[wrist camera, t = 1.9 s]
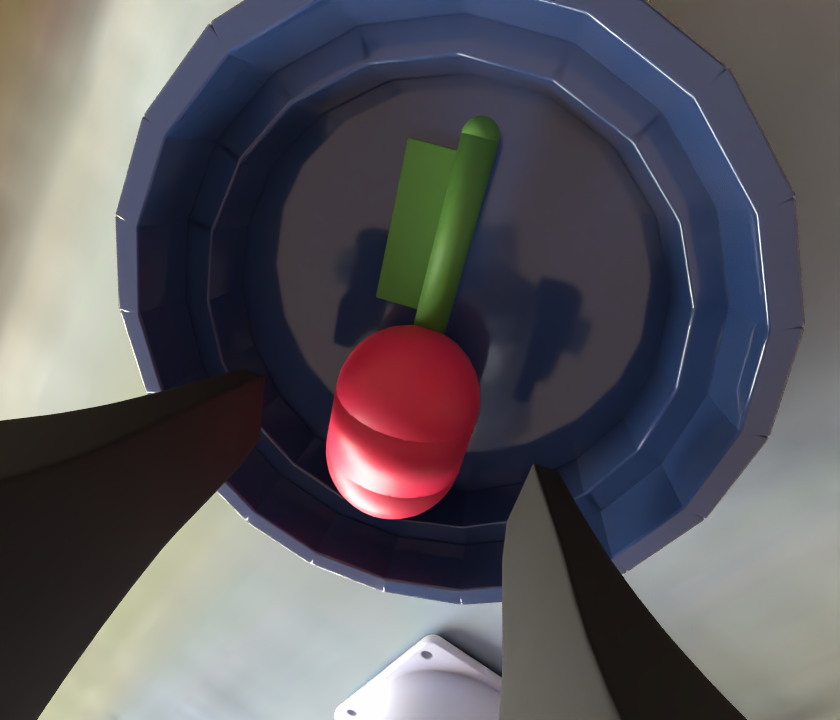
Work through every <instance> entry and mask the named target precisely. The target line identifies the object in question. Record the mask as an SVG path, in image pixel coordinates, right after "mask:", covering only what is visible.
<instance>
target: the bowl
mask: <svg viewBox="0 0 840 720" xmlns="http://www.w3.org/2000/svg"><path fill="white" fill-rule="evenodd" d="M211 23H212V24H209V25H208V26H207V27H206V28H205V30H204V31H203V33H202V34H201V35H200V37H199V38H198V40H197V41H196V42H195V44H194V45H193V47H192V48H191V49H190V51H189V52H188V54H187V55H186V56H185V58H184V59H183V61H182V62H181V63H180V65H179V66H178V68H177V69H176V71H175V72H174V73H173V75H172V76H171V78H170V79H169V80H168V82H167V83H166V85H165V86H164V87H163V89H162V90H161V92H160V93H159V94H158V96H157V97H156V99H155V100H154V101H153V103H152V104H151V106H150V107H149V108H148V110H147V111H146V113H145V116H144V117H143V118H142V121H141V125H140V128H139V132H138V135H137V139H136V143H135V146H134V150H133V154H132V157H131V161H130V164H129V168H128V172H127V175H126V179H125V183H124V186H123V190H122V193H121V197H120V201H119V204H118V208H117V212H116V215H117V216H116V242H117V268H118V295H119V309H120V310H121V311H120V313H121V316H122V319H123V322H124V325H125V328H126V332H127V335H128V338H129V341H130V344H131V347H132V350H133V354H134V357H135V360H136V363H137V366H138V369H139V372H140V376H141V379H142V382H143V385H144V388H145V391H146V392H147V395H149V394H153V393H157V392H161V391H165V390H169V389H172V388H176V387H179V386H183V385H186V384H190V383H193V382H197V381H200V380H204V379H207V378H211V377H214V376H218V375H221V374H225V373H229V372H232V371H237V370H242V369H246V370H249V371H252V372H255V373H258V374H261V375H264V376H265V386H264V397H263V409H262V420H261V431H260V439H259V440H258V442H257V443H256V444H255V446H254V447H253V449H252V450H251V452H250V453H249V454H248V456H247V457H246V458H245V460H244V461H243V462H242V464H241V465H240V466H239V468H238V469H237V470H236V471H235V472H234V473H233V474H232V475H231V476H230V477H229V479H228V480H227V481H226V482H225V483H224V484H223V485H222V486H221V487H220V488H219V489H218V490H217V492H218V493H219V494H220V495H221V496H222V497H223V498H224V499H225V500H226V501H227V503H228V504H229V505H230V506H231V507H232V508H233V509H234V510H235V511H236V512H237V513H238V514H239V515H240V516H241V517H242V518H243V519H245V520H246V522H248V523H249V524H251V525H252V526H254V527H255V528H257V529H258V530H260V531H261V532H263V533H264V534H266V535H267V536H269V537H270V538H272V539H273V540H275V541H276V542H278V543H279V544H281V545H282V546H284V547H285V548H287V549H288V550H290V551H292V552H293V553H295V554H296V555H298V556H299V557H301V558H302V559H304V560H305V561H307V562H308V563H311V564H313V565H315V566H318V567H320V568H323V569H325V570H328V571H330V572H333V573H336V574H338V575H341V576H343V577H346V578H348V579H351V580H353V581H356V582H359V583H361V584H364V585H366V586H369V587H371V588H374V589H376V590H379V591H383V590H384V592H386V593H392V594H398V595H404V596H411V597H417V598H423V599H429V600H436V601H442V602H448V603H454V604H461V603H462V604H479V603H493V602H502V559H503V550H504V541H505V533H506V525H507V521H508V519H509V516H510V514H511V512H512V510H513V507H514V505H515V503H516V501H517V499H518V496H519V494H520V492H521V490H522V487H523V485H524V483H525V481H526V478H527V476H528V474H529V472H530V470H531V467H532V465H533V463H535V464H538V465H541V466H544V467H547V468H550V469H553V470H556V471H558V472H559V474H560V476H561V477H562V479H563V481H564V483H565V484H566V486H567V488H568V490H569V491H570V493H571V495H572V497H573V498H574V500H575V502H576V504H577V505H578V507H579V509H580V511H581V512H582V514H583V516H584V517H585V519H586V521H587V522H588V524H589V526H590V527H591V529H592V531H593V532H594V534H595V535H596V537H597V539H598V540H599V542H600V543H601V545H602V546H603V548H604V550H605V551H606V553H607V554H608V556H609V557H610V559H611V560H612V562H613V563H614V564H615V566H616V567H617V569H618V570H619V572H620V573H621V574H623V573H626V570H627V571H629V570H631V569H632V568H633V567H635V566H636V565H638V564H639V563H641V562H642V561H644V560H645V559H647V558H648V557H650V556H651V555H653V554H654V553H656V552H657V551H659V550H660V549H662V548H663V547H665V546H666V545H668V544H669V543H671V542H672V541H673V540H675V539H676V538H678V537H679V536H681V535H682V534H684V533H685V532H687V531H688V530H690V529H691V528H693V527H694V526H696V525H697V524H699V523H700V522H702V521H703V520H704V518H707V517H708V515H709V514H710V513H711V512H712V510H713V509H714V508H715V506H716V505H717V504H718V503H719V501H720V500H721V499H722V497H723V496H724V495H725V494H726V492H727V491H728V490H729V488H730V487H731V486H732V485H733V483H734V482H735V481H736V480H737V478H738V477H739V476H740V474H741V473H742V472H743V471H744V469H745V468H746V467H747V465H748V464H749V463H750V462H751V460H752V459H753V458H754V456H755V455H756V454H757V453H758V451H759V450H760V449H761V448H762V446H763V445H764V444H765V442H766V441H767V440H768V436H769V435H770V434H771V430H772V427H773V424H774V421H775V418H776V415H777V412H778V409H779V406H780V402H781V399H782V396H783V393H784V390H785V387H786V384H787V381H788V378H789V374H790V371H791V368H792V365H793V362H794V359H795V356H796V353H797V350H798V346H799V343H800V340H801V337H802V334H803V331H804V328H803V325H804V323H805V322H804V308H803V295H802V281H801V268H800V254H799V241H798V227H797V214H796V200H795V198H794V197H793V196H794V195H795V193H794V191H793V189H792V187H791V185H790V183H789V181H788V179H787V177H786V176H785V174H784V172H783V170H782V168H781V166H780V164H779V162H778V160H777V158H776V156H775V154H774V152H773V150H772V149H771V147H770V145H769V143H768V141H767V139H766V137H765V135H764V133H763V131H762V129H761V127H760V125H759V123H758V122H757V120H756V118H755V116H754V114H753V112H752V110H751V108H750V106H749V104H748V102H747V100H746V98H745V96H744V95H743V93H742V91H741V89H740V87H739V85H738V83H737V81H736V79H735V77H734V75H733V73H732V71H731V69H729V68H726V66H725V64H724V63H723V62H722V61H721V60H719V59H718V58H717V57H716V56H714V55H713V54H712V53H711V52H709V51H708V50H707V49H706V48H704V47H703V46H702V45H701V44H699V43H698V42H697V41H696V40H694V39H693V38H692V37H691V36H689V35H688V34H687V33H686V32H685V31H683V30H682V29H681V28H680V27H678V26H677V25H676V24H675V23H673V22H672V21H671V20H670V19H668V18H667V17H666V16H665V15H663V14H662V13H661V12H660V11H658V10H657V9H656V8H655V7H654V6H652V5H651V4H650V3H649V2H647V1H646V0H244V1H242V2H241V3H239V4H238V5H236V6H235V7H233V8H231V9H230V10H228V11H227V12H225V13H224V14H222V15H220V16H219V17H217V18H216V19H214V20H213V21H212V22H211ZM725 68H726V69H725ZM480 115H484V116H488V117H490V118H491V119H493V120H494V121H495V122H496V124H497V125H498V128H499V131H500V141H499V145H498V149H497V152H496V156H495V159H494V163H493V166H492V170H491V173H490V177H489V180H488V184H487V187H486V191H485V194H484V198H483V201H482V205H481V208H480V212H479V215H478V219H477V222H476V226H475V229H474V233H473V236H472V240H471V243H470V247H469V250H468V254H467V257H466V261H465V264H464V268H463V271H462V275H461V278H460V282H459V285H458V289H457V292H456V296H455V299H454V303H453V306H452V310H451V313H450V317H449V320H448V324H447V327H446V330H445V332H444V335H446V336H447V337H449V338H450V339H451V340H453V341H454V342H456V343H457V344H458V345H459V346H460V347H461V349H462V350H463V351H464V352H465V353H466V355H467V356H468V357H469V359H470V361H471V363H472V365H473V367H474V369H475V371H476V374H477V377H478V381H479V385H480V410H479V414H478V418H477V422H476V425H475V428H474V431H473V433H472V436H471V439H470V442H469V445H468V447H467V450H466V453H465V456H464V459H463V461H462V464H461V467H460V470H459V473H458V475H457V477H456V479H455V481H454V483H453V485H452V487H451V488H450V490H449V491H448V492H447V493H446V495H445V496H444V497H443V498H442V499H441V500H440V501H439V502H438V503H437V504H435V505H434V506H433V507H431V508H430V509H428V510H426V511H425V512H423V513H421V514H418V515H416V516H412V517H408V518H402V519H383V518H378V517H374V516H371V515H369V514H366V513H364V512H362V511H360V510H359V509H357V508H356V507H354V506H353V505H352V504H351V503H349V502H348V501H347V500H346V499H345V498H344V497H343V496H342V495H341V493H340V492H339V490H338V489H337V487H336V486H335V484H334V482H333V480H332V477H331V475H330V473H329V469H328V464H327V458H326V442H327V435H328V429H329V424H330V418H331V412H332V407H333V401H334V395H335V389H336V384H337V381H338V377H339V374H340V371H341V368H342V367H343V365H344V363H345V361H346V360H347V358H348V356H349V355H350V353H351V352H352V351H353V350H354V349H355V348H356V347H357V345H358V344H359V343H361V342H362V341H363V340H365V339H366V338H368V337H369V336H371V335H372V334H373V333H376V332H378V331H381V330H383V329H386V328H389V327H392V326H400V325H414V321H415V317H416V313H417V309H414V308H410V307H407V306H404V305H400V304H397V303H394V302H390V301H387V300H384V299H380V298H377V297H376V294H377V289H378V284H379V279H380V274H381V269H382V264H383V259H384V254H385V249H386V244H387V239H388V234H389V229H390V224H391V219H392V214H393V209H394V204H395V199H396V194H397V189H398V185H399V180H400V175H401V170H402V165H403V160H404V155H405V150H406V145H407V140H408V138H409V137H410V138H413V139H417V140H421V141H425V142H429V143H432V144H436V145H440V146H444V147H447V148H451V149H455V150H457V148H458V144H459V140H460V136H461V132H462V129H463V127H464V125H465V124H466V123H467V121H469V120H470V119H471V118H473V117H475V116H480Z"/></svg>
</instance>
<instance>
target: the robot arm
mask: <svg viewBox="0 0 840 720" xmlns="http://www.w3.org/2000/svg"><path fill="white" fill-rule="evenodd" d="M264 386H265V376H264V375H261V374H258V373H255V372H252V371H249V370H246V369H242V370H237V371H232V372H229V373H225V374H221V375H218V376H214V377H211V378H207V379H204V380H200V381H197V382H193V383H190V384H186V385H183V386H179V387H176V388H172V389H169V390H165V391H161V392H157V393H153V394H149V395H145V396H141V397H137V398H133V399H129V400H125V401H121V402H117V403H112V404H108V405H103V406H98V407H93V408H87V409H82V410H76V411H70V412H64V413H58V414H52V415H44V416H36V417H28V418H19V419H11V420H3V421H0V720H37V719H38V718H39V716H40V715H41V713H42V712H43V710H44V709H45V707H46V706H47V704H48V703H49V701H50V700H51V698H52V697H53V695H54V694H55V692H56V691H57V689H58V688H59V686H60V685H61V683H62V682H63V680H64V679H65V678H66V676H67V675H68V673H69V672H70V671H71V669H72V668H73V666H74V665H75V664H76V662H77V661H78V659H79V658H80V657H81V655H82V654H83V652H84V651H85V650H86V648H87V647H88V645H89V644H90V643H91V641H92V640H93V638H94V637H95V636H96V634H97V633H98V631H99V630H100V629H101V627H102V626H103V625H104V623H105V622H106V621H107V619H108V618H109V617H110V615H111V614H112V613H113V611H114V610H115V609H116V607H117V606H118V605H119V603H120V602H121V601H122V599H123V598H124V597H125V595H126V594H127V593H128V591H129V590H130V589H131V587H132V586H133V585H134V584H135V582H136V581H137V580H138V579H139V577H140V576H141V575H142V573H143V572H144V571H145V570H146V568H147V567H148V566H149V565H150V563H151V562H152V561H153V560H154V558H155V557H156V556H157V555H158V553H159V552H160V551H161V550H162V548H163V547H164V546H165V545H166V544H167V543H168V542H169V541H170V539H171V538H172V537H173V536H174V535H175V534H176V533H177V532H178V531H179V530H180V529H181V528H182V527H183V526H184V524H185V523H186V522H187V521H188V520H189V519H190V518H191V517H192V516H193V515H194V514H195V513H196V512H197V511H198V510H199V509H200V508H201V507H202V506H203V505H204V504H205V503H206V502H207V501H208V500H209V499H210V497H211V496H212V495H213V494H214V493H215V492H216V491H217V490H218V489H219V488H220V487H221V486H222V485H223V484H224V483H225V482H226V481H227V480H228V479H229V477H230V476H231V475H232V474H233V473H234V472H235V471H236V470H237V469H238V468H239V466H240V465H241V464H242V462H243V461H244V460H245V458H246V457H247V456H248V454H249V453H250V452H251V450H252V449H253V447H254V446H255V444H256V443H257V442H258V440H259V439H260V431H261V420H262V409H263V397H264ZM502 616H503V663H502V677H500V676H499V675H497V674H496V673H494V672H493V671H491V670H490V669H488V668H487V667H485V666H484V665H482V664H481V663H479V662H478V661H476V660H475V659H473V658H472V657H470V656H469V655H467V654H466V653H464V652H462V651H461V650H459V649H458V648H456V647H455V646H453V645H452V644H450V643H449V642H447V641H446V640H444V639H443V638H441V637H440V636H438V635H434V634H430V635H427V636H425V637H424V638H423V639H421V640H420V641H419V642H418V643H416V644H415V645H414V646H413V647H411V648H410V649H409V650H408V651H407V652H405V653H404V654H403V655H402V656H400V657H399V658H398V659H397V660H395V661H394V662H393V663H392V664H390V665H389V666H388V667H387V668H385V669H384V670H383V671H382V672H380V673H379V674H378V675H377V676H376V677H374V678H373V679H372V680H371V681H369V682H368V683H367V684H366V685H364V686H363V687H362V688H361V689H359V690H358V691H357V692H356V693H354V694H353V695H352V696H351V697H349V698H348V699H347V700H346V701H345V702H343V703H342V704H341V705H340V706H338V707H337V709H336V712H335V715H334V717H335V719H336V720H747V719H746V718H745V717H744V716H743V715H742V714H741V713H740V712H739V711H738V710H737V709H736V708H735V707H734V706H733V705H732V704H731V703H730V702H729V701H728V700H727V699H726V698H725V697H724V696H723V695H722V694H721V693H720V692H719V690H718V689H717V688H716V687H715V686H714V685H713V684H712V683H711V682H710V681H709V680H708V679H707V678H706V677H705V676H704V675H703V673H702V672H701V671H700V670H699V669H698V668H697V667H696V666H695V665H694V663H693V662H692V661H691V660H690V659H689V658H688V657H687V656H686V655H685V653H684V652H683V651H682V650H681V649H680V648H679V647H678V646H677V644H676V643H675V642H674V641H673V640H672V639H671V637H670V636H669V635H668V634H667V633H666V632H665V630H664V629H663V628H662V627H661V626H660V624H659V623H658V622H657V621H656V619H655V618H654V617H653V616H652V614H651V613H650V612H649V610H648V609H647V608H646V607H645V605H644V604H643V603H642V602H641V600H640V599H639V598H638V597H637V595H636V594H635V593H634V591H633V590H632V589H631V587H630V586H629V584H628V583H627V582H626V580H625V579H624V577H623V576H622V575H621V573H620V572H619V570H618V569H617V567H616V566H615V564H614V563H613V562H612V560H611V559H610V557H609V556H608V554H607V553H606V551H605V550H604V548H603V546H602V545H601V543H600V542H599V540H598V539H597V537H596V535H595V534H594V532H593V531H592V529H591V527H590V526H589V524H588V522H587V521H586V519H585V517H584V516H583V514H582V512H581V511H580V509H579V507H578V505H577V504H576V502H575V500H574V498H573V497H572V495H571V493H570V491H569V490H568V488H567V486H566V484H565V483H564V481H563V479H562V477H561V476H560V474H559V472H558V471H556V470H553V469H550V468H547V467H544V466H541V465H538V464H535V463H533V465H532V467H531V470H530V472H529V474H528V476H527V478H526V481H525V483H524V485H523V487H522V490H521V492H520V494H519V496H518V499H517V501H516V503H515V505H514V507H513V510H512V512H511V514H510V516H509V519H508V521H507V525H506V533H505V541H504V550H503V559H502Z"/></svg>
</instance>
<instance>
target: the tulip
mask: <svg viewBox="0 0 840 720" xmlns="http://www.w3.org/2000/svg"><path fill="white" fill-rule="evenodd" d="M499 141H500V131H499V128H498V125H497V124H496V122H495V121H494V120H493V119H491V118H490V117H488V116H484V115H480V116H475V117H473V118H471V119H470V120H469V121H467V123H466V124H465V125H464V127H463V129H462V132H461V136H460V140H459V144H458V148H457V150H455V149H451V148H447V147H444V146H440V145H436V144H432V143H429V142H425V141H421V140H417V139H413V138H410V137H409V138H408V140H407V145H406V150H405V155H404V160H403V165H402V170H401V175H400V180H399V185H398V189H397V194H396V199H395V204H394V209H393V214H392V219H391V224H390V229H389V234H388V239H387V244H386V249H385V254H384V259H383V264H382V269H381V274H380V279H379V284H378V289H377V294H376V297H377V298H380V299H384V300H387V301H390V302H394V303H397V304H400V305H404V306H407V307H410V308H414V309H417V313H416V317H415V321H414V325H400V326H392V327H389V328H386V329H383V330H381V331H378V332H376V333H373V334H372V335H371V336H369V337H368V338H366V339H365V340H363V341H362V342H361V343H359V344H358V345H357V347H356V348H355V349H354V350H353V351H352V352H351V353H350V355H349V356H348V358H347V360H346V361H345V363H344V365H343V367H342V368H341V371H340V374H339V377H338V381H337V384H336V389H335V395H334V401H333V407H332V412H331V418H330V424H329V429H328V435H327V442H326V458H327V464H328V469H329V473H330V475H331V477H332V480H333V482H334V484H335V486H336V487H337V489H338V490H339V492H340V493H341V495H342V496H343V497H344V498H345V499H346V500H347V501H348V502H349V503H351V504H352V505H353V506H354V507H356V508H357V509H359V510H360V511H362V512H364V513H366V514H369V515H371V516H374V517H378V518H383V519H402V518H408V517H412V516H416V515H418V514H421V513H423V512H425V511H426V510H428V509H430V508H431V507H433V506H434V505H435V504H437V503H438V502H439V501H440V500H441V499H442V498H443V497H444V496H445V495H446V493H447V492H448V491H449V490H450V488H451V487H452V485H453V483H454V481H455V479H456V477H457V475H458V473H459V470H460V467H461V464H462V461H463V459H464V456H465V453H466V450H467V447H468V445H469V442H470V439H471V436H472V433H473V431H474V428H475V425H476V422H477V418H478V414H479V410H480V385H479V381H478V377H477V374H476V371H475V369H474V367H473V365H472V363H471V361H470V359H469V357H468V356H467V355H466V353H465V352H464V351H463V350H462V349H461V347H460V346H459V345H458V344H457V343H456V342H454V341H453V340H451V339H450V338H449V337H447V336H446V335H444V332H445V330H446V327H447V324H448V320H449V317H450V313H451V310H452V306H453V303H454V299H455V296H456V292H457V289H458V285H459V282H460V278H461V275H462V271H463V268H464V264H465V261H466V257H467V254H468V250H469V247H470V243H471V240H472V236H473V233H474V229H475V226H476V222H477V219H478V215H479V212H480V208H481V205H482V201H483V198H484V194H485V191H486V187H487V184H488V180H489V177H490V173H491V170H492V166H493V163H494V159H495V156H496V152H497V149H498V145H499Z"/></svg>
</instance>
